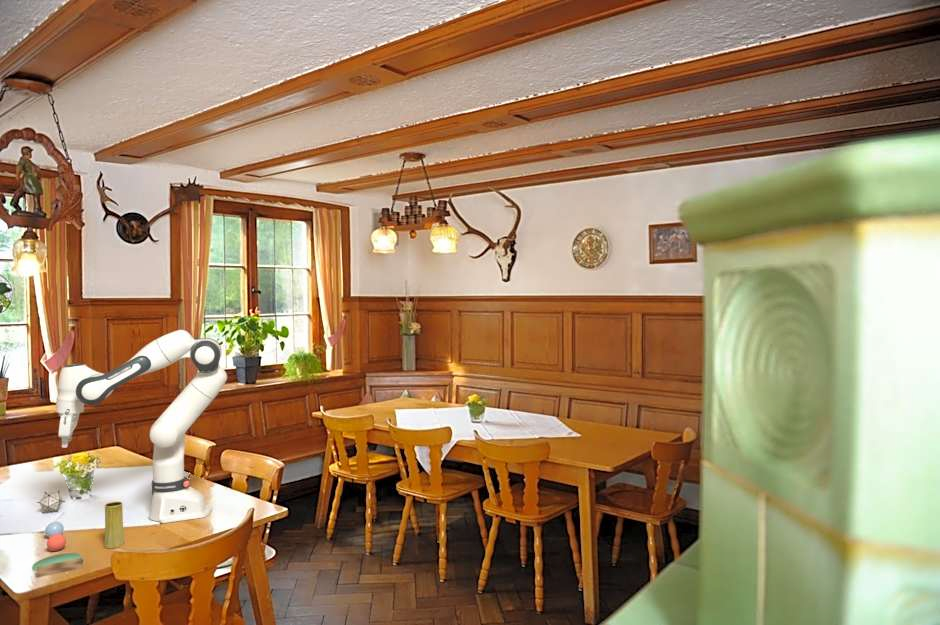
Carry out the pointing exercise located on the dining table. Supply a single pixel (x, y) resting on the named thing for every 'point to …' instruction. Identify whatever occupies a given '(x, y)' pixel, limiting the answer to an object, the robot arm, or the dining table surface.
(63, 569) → the walnut stop
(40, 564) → the green mark
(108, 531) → the vase
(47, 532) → the blue ball
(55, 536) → the red ball
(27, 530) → the dining table surface
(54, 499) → the game die
